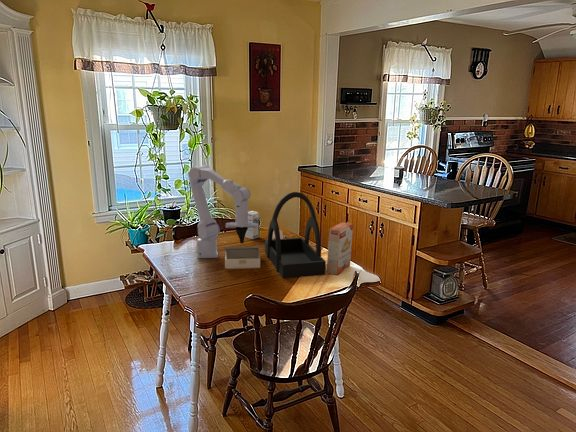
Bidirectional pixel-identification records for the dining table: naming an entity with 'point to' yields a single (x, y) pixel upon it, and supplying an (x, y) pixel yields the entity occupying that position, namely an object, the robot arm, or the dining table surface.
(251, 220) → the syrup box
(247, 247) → the lid
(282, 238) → the packaged product
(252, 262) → the box
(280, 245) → the basket
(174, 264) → the dining table surface
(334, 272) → the cracker box
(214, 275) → the dining table surface
